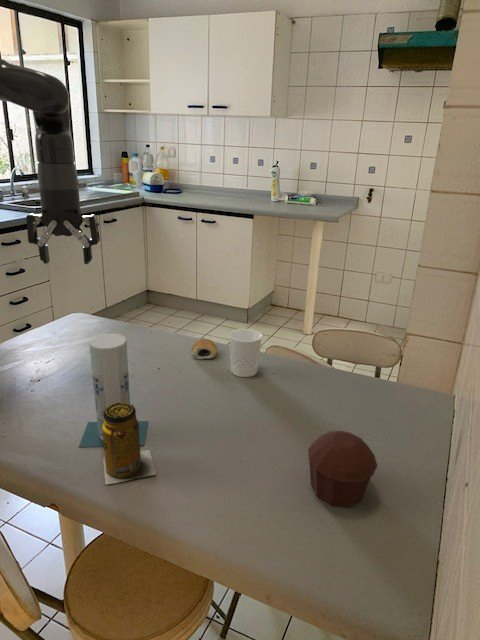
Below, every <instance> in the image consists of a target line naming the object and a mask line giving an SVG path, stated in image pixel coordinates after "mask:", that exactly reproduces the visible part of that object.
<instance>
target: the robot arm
mask: <svg viewBox="0 0 480 640" xmlns="http://www.w3.org/2000/svg"><path fill="white" fill-rule="evenodd" d="M0 101H2V102H8V103H12V104H13V105H17V106H19V107H22V108H25V109H26V110H30V111H32V117H33V123H34V130H35V135H34V144H35V153H36V154H35V155H36V162H37V181H38V187H39V188H38V189H39V198H40V205H41V214H36V213H35V212H31V213H29V214H27V215H26V217H25V219H26V231H27V233H26V234H27V242H28V243H29V244H33V245H36V246H37V247H38V253H39V259H40V261H41V262H42V263H43V264H49V263H50V261H51V260H50V252H49V245H48V244H47V243H48V241H49V240H50V239H51V237H52V236H55V237H61V236H65V237H72V236H74V238H75V239H76V240H78V241H79V242H80V243H81V245H83V247H82V252H83V264H84V265H89V264H90V263H91V262H92V260H93V251H92V249H93V248H92V247H93V246H96V245H98V244H99V243H100V241H101V237H100V230H99V222H98V216H97V215H96V214H91V215H83V214H82V212H81V200H80V189H79V185H80V183H79V177H78V171H77V167H76V163H75V162H76V159H75V150H74V142H73V138H72V134H71V121H70V94H69V91H68V89H67V87H66V85H65V84H64V83H63V81H62V80H60V79H59V78H57V77H56V76H53V75H51V74H48V73H45V72H42V71H39V70H36V69H32V68H29V67H25V66H22V65H18V64H14V63H12V62H9V61H7V60H5V59H3V58H0ZM40 222H42V225H44V227H46V229H45V230H44V231H43V232H42V234H41V236H40V237H39V236H38V225H39V224H40ZM83 223H85V224H86V226H87V227H89V231H90V237H91V238H90V237H89V236H88V235H87V234H86V232H85V230H84V229H83V228H82V227H81V225H82V224H83Z"/></svg>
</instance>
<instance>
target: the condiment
mask: <svg viewBox="0 0 480 640" xmlns="http://www.w3.org/2000/svg"><path fill="white" fill-rule="evenodd" d="M136 413H137V411H136V407H135V406H134V405H133V404H131V403H130V404H128V403H116V404H112V405H110V406H108V407H107V408H106V409H105V411H104V413H103V416H104V423H103V427H102V430H103V441H104V447H103V451H104V457H102V464H103V472H104V483H105V486H107V485H112V484H118V483H123V482H128V481H132V480H137V479H141V478H142V479H143V478H147V477H150V476H155V475H157V472H156V469H155V465H154V461H153V458H152V454H151V449H145V450H141V446H140V439H139V423H138V421H139V420H138V419H137V414H136Z"/></svg>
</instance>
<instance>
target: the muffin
mask: <svg viewBox="0 0 480 640" xmlns="http://www.w3.org/2000/svg"><path fill="white" fill-rule="evenodd" d="M307 453H308V462H309V463H308V464H309V475H310V486H311V488H312V490H313V492H314V493H315V496H316V498H318V499H320V500H322V501H324V502H325V503H327V505H330V506H332V507H333V506H334V507H342V508H350V507H351V506H353V505H355V504H359V503H361V502H362V500H363V497H364V496H365V492H366V490H367V487H368V485H369V482H370V480H371V477H373V476H374V474H375V472H376V470H377V467H378V462H377V460H376V456H375V454H374V452H373V451H372V450H371V448H370V447H369V446H368V444H367V443H366V442H365V441H364V440H363V439H362V438H361V437H360V436H358V435H356V434H354V433H352V432H349V431H346V430H331V431H328V432H326V433H324V434H321V435H320V436H318V437H317V438H316V439H314V440H313V442H312V443H311V444H310V446H309V447H308V448H307Z"/></svg>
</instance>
